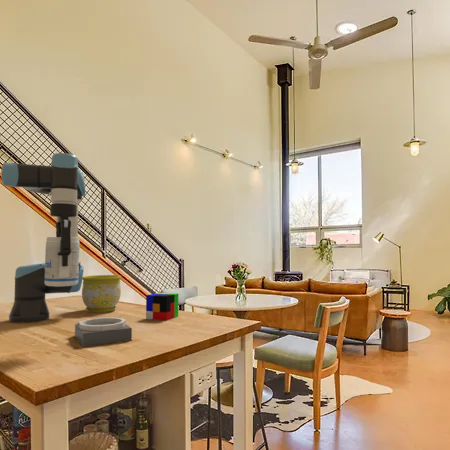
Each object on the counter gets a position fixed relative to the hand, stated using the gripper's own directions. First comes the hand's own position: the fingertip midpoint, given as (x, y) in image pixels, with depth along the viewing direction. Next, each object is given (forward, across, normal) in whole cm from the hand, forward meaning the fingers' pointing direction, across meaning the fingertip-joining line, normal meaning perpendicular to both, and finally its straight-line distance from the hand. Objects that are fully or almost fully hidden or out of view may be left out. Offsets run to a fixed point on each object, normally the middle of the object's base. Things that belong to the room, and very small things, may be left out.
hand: (62, 276), depth 114 cm
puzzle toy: (+22, -31, +44) cm, 58 cm away
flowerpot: (+22, -63, +24) cm, 71 cm away
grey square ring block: (+21, -6, +14) cm, 26 cm away
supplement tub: (+3, 0, 0) cm, 3 cm away
